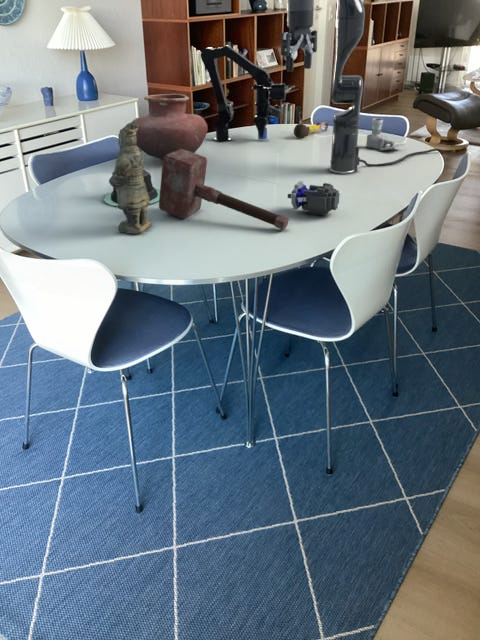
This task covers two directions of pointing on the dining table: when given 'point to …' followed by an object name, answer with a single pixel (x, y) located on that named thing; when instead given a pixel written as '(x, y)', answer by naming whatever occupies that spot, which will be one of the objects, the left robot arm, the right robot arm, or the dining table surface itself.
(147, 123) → the clay pot
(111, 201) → the chocolate cake
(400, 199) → the dining table surface
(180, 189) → the sledgehammer
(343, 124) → the right robot arm
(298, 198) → the toy
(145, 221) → the statue
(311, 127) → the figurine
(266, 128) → the canister
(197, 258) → the dining table surface
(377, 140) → the grey boot
